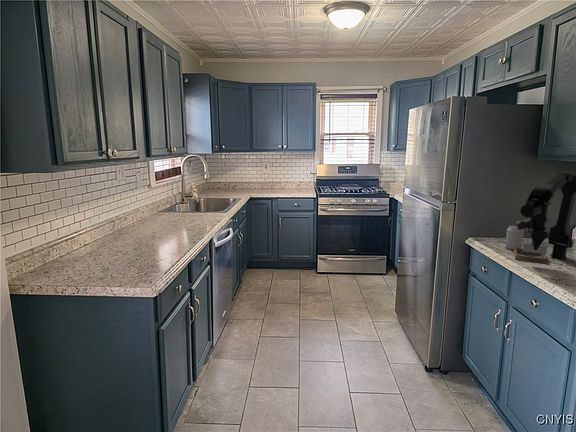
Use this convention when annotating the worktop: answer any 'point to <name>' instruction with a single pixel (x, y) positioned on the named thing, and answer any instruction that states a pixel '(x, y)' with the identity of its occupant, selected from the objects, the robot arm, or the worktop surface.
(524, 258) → the walnut box
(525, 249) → the dark gray box
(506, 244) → the can
